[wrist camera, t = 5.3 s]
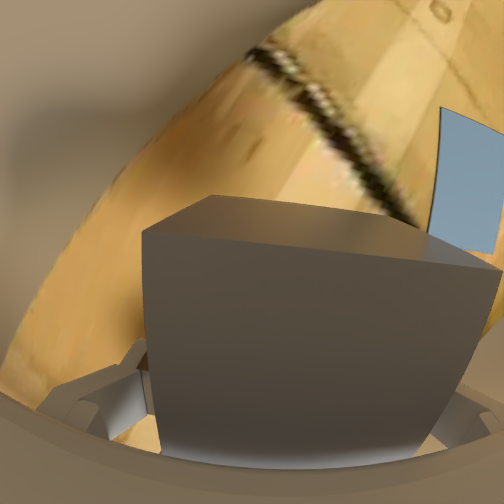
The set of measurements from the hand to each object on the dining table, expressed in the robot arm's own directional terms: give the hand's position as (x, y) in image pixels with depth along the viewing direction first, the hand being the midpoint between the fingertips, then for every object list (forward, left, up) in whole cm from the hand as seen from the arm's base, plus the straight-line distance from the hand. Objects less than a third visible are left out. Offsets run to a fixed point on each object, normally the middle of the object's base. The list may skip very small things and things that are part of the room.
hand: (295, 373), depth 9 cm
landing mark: (+8, -19, -17) cm, 27 cm away
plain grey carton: (0, 0, -4) cm, 4 cm away
